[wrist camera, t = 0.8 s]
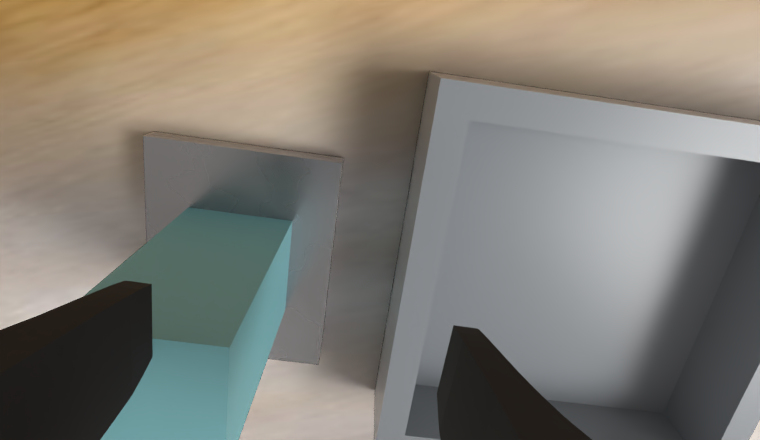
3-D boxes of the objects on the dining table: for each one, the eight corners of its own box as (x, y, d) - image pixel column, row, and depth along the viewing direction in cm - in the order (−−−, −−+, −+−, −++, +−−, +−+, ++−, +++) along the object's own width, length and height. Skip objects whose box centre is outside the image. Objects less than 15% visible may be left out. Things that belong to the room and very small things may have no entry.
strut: (285, 309, 22) (224, 478, 13) (188, 298, 22) (64, 461, 13) (292, 221, 20) (229, 347, 12) (188, 207, 20) (48, 326, 12)
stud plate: (320, 352, 24) (312, 393, 21) (159, 332, 23) (128, 372, 21) (343, 157, 20) (337, 176, 17) (154, 131, 20) (117, 145, 17)
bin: (671, 425, 25) (721, 491, 22) (374, 390, 25) (373, 453, 21) (805, 127, 20) (904, 147, 16) (428, 71, 19) (440, 77, 15)
